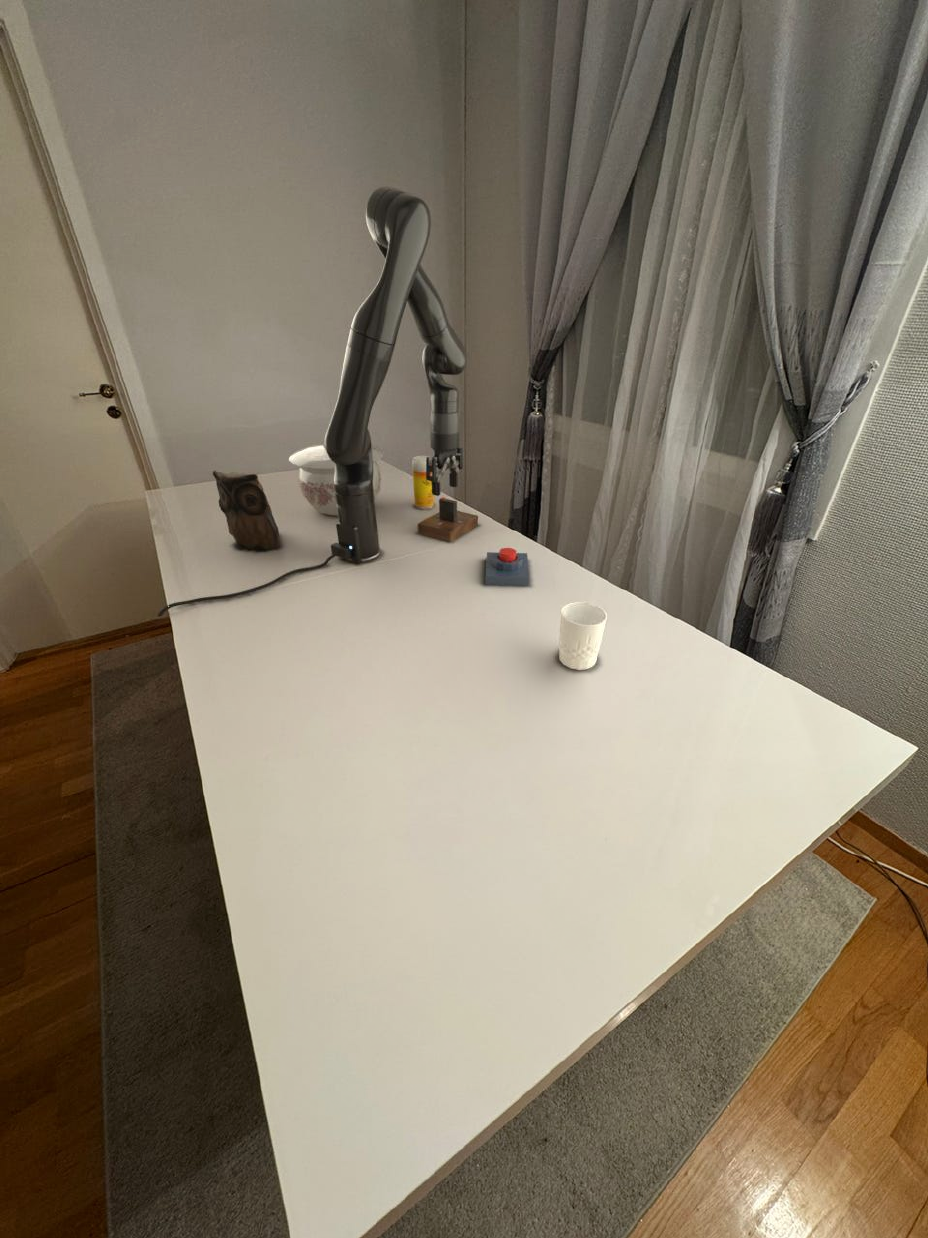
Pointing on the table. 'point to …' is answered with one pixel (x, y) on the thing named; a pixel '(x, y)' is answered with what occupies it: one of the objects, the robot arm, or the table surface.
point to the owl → (247, 511)
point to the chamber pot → (324, 476)
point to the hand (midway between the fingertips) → (445, 490)
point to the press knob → (507, 554)
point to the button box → (507, 570)
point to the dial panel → (447, 526)
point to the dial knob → (448, 509)
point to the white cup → (581, 634)
